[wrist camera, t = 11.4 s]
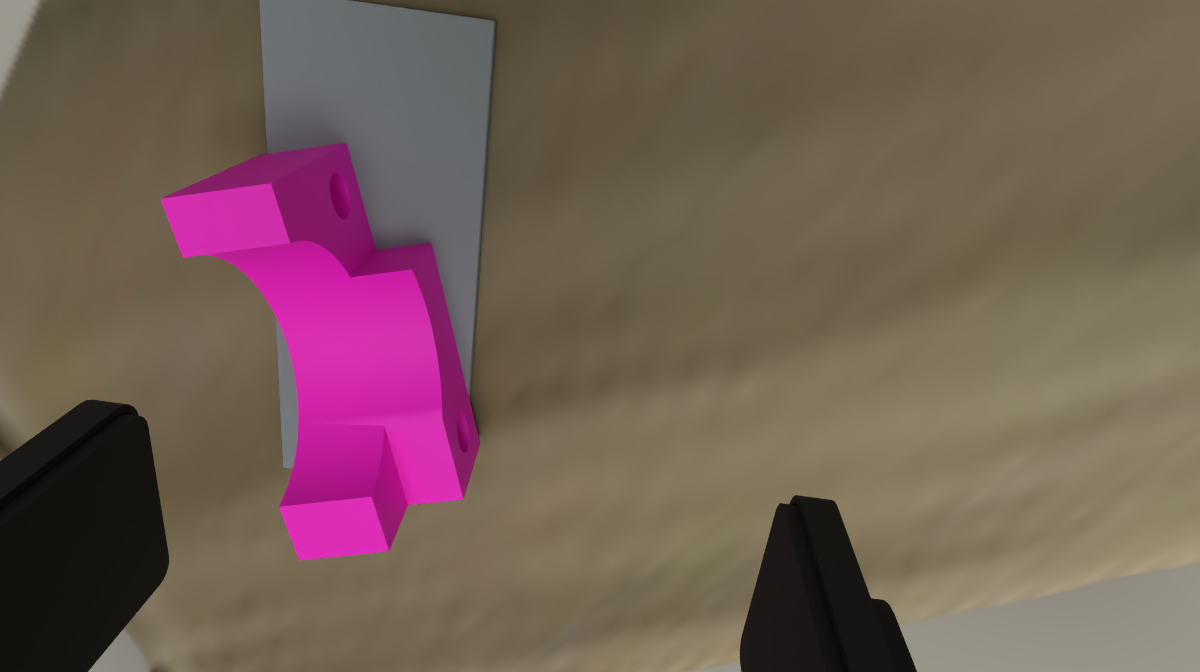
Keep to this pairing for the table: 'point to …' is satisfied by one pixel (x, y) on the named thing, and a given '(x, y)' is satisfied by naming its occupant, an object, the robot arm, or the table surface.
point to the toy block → (343, 344)
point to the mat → (388, 134)
